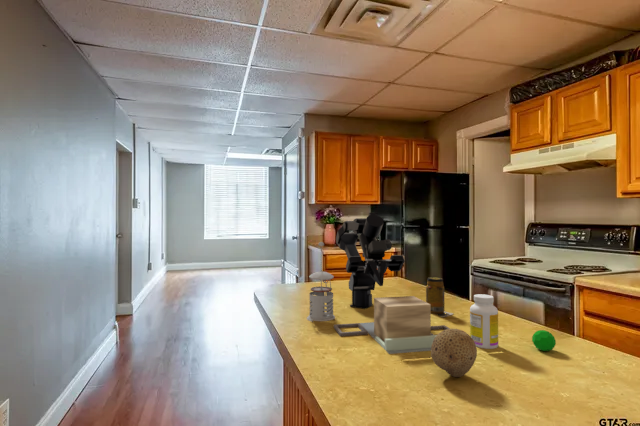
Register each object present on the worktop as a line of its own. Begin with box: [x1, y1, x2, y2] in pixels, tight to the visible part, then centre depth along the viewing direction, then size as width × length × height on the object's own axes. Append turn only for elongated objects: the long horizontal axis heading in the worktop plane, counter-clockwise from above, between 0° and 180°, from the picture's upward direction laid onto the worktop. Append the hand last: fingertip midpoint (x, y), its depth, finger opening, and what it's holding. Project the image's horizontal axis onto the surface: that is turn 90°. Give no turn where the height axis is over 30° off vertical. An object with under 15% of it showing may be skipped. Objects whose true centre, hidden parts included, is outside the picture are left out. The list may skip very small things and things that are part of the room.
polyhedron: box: [531, 329, 557, 352], centre depth 91 cm, size 5×5×5 cm
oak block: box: [373, 295, 432, 343], centre depth 99 cm, size 10×12×10 cm
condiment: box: [425, 276, 454, 318], centre depth 125 cm, size 7×8×12 cm
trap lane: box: [333, 321, 451, 355], centre depth 101 cm, size 25×32×3 cm
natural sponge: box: [430, 328, 478, 378], centre depth 76 cm, size 9×9×10 cm
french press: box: [306, 241, 336, 323], centre depth 120 cm, size 10×12×25 cm
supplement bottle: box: [469, 293, 499, 350], centre depth 94 cm, size 7×7×13 cm
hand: (381, 285), depth 114 cm, fingers closed
